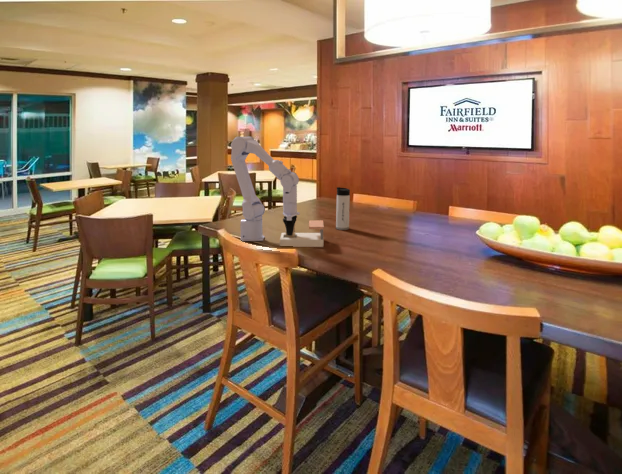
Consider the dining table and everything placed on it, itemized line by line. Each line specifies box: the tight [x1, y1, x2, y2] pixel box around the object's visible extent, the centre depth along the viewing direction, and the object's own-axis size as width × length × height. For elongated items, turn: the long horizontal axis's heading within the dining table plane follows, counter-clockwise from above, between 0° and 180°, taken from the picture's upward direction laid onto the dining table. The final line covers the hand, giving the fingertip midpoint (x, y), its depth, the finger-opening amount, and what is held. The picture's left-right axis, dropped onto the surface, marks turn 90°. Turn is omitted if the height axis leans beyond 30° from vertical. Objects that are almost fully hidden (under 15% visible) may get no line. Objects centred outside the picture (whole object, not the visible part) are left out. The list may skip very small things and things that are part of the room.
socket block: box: [279, 219, 325, 248], centre depth 181 cm, size 18×13×8 cm
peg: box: [285, 224, 296, 238], centre depth 181 cm, size 4×4×8 cm
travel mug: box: [335, 186, 351, 231], centre depth 207 cm, size 6×7×20 cm
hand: (290, 233), depth 181 cm, fingers closed on peg, 4 cm apart
